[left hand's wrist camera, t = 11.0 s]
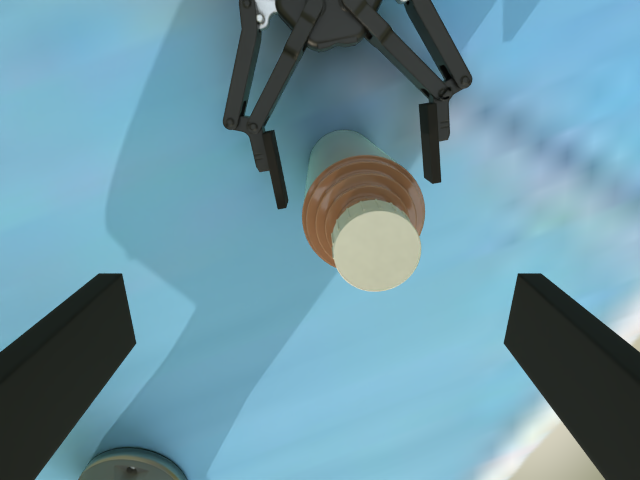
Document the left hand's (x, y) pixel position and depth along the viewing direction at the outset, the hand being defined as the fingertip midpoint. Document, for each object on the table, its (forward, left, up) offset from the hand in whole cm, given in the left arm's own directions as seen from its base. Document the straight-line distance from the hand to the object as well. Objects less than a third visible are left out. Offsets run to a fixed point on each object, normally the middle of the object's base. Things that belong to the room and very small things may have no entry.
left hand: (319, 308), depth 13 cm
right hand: (-3, -2, -22) cm, 23 cm away
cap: (-1, -2, -5) cm, 5 cm away
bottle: (-1, -2, -29) cm, 29 cm away
